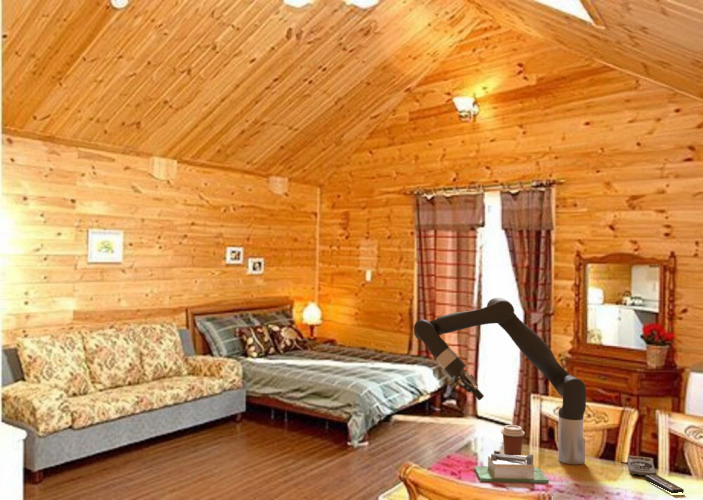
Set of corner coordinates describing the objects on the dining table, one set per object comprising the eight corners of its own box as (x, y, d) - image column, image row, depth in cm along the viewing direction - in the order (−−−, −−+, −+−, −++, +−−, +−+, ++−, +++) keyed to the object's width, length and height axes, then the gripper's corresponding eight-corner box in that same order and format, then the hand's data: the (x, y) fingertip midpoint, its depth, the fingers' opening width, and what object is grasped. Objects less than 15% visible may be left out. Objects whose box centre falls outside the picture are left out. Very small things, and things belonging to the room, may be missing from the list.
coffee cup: (524, 462, 234) (524, 431, 234) (500, 459, 237) (500, 429, 237) (524, 454, 243) (524, 425, 243) (501, 452, 246) (501, 423, 246)
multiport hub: (656, 480, 217) (656, 474, 217) (684, 496, 203) (684, 489, 203) (645, 481, 217) (645, 474, 217) (672, 497, 202) (672, 490, 202)
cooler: (538, 470, 225) (538, 448, 225) (548, 483, 212) (548, 459, 212) (474, 469, 225) (474, 446, 225) (480, 481, 213) (480, 457, 213)
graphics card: (619, 453, 237) (653, 457, 232) (620, 463, 237) (653, 466, 232) (621, 467, 221) (658, 471, 217) (621, 477, 221) (658, 482, 217)
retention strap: (493, 458, 220) (493, 455, 220) (495, 455, 223) (495, 453, 223) (525, 461, 215) (524, 459, 215) (526, 459, 217) (526, 456, 218)
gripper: (452, 358, 223) (484, 395, 217) (462, 353, 234) (493, 389, 229) (438, 371, 225) (469, 408, 219) (449, 366, 237) (479, 401, 231)
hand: (481, 398), depth 224 cm, fingers closed
